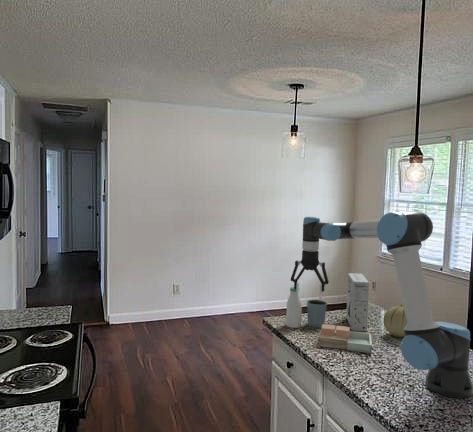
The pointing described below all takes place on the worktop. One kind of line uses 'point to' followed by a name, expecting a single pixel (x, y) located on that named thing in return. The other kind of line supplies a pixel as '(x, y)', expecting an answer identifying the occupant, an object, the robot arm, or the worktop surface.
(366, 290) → the cereal box
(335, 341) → the board
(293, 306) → the milk bottle
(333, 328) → the tile
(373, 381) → the worktop surface
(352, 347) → the tray
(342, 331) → the tile
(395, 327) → the cantaloupe
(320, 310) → the grey-blue hollow tapered cylinder
